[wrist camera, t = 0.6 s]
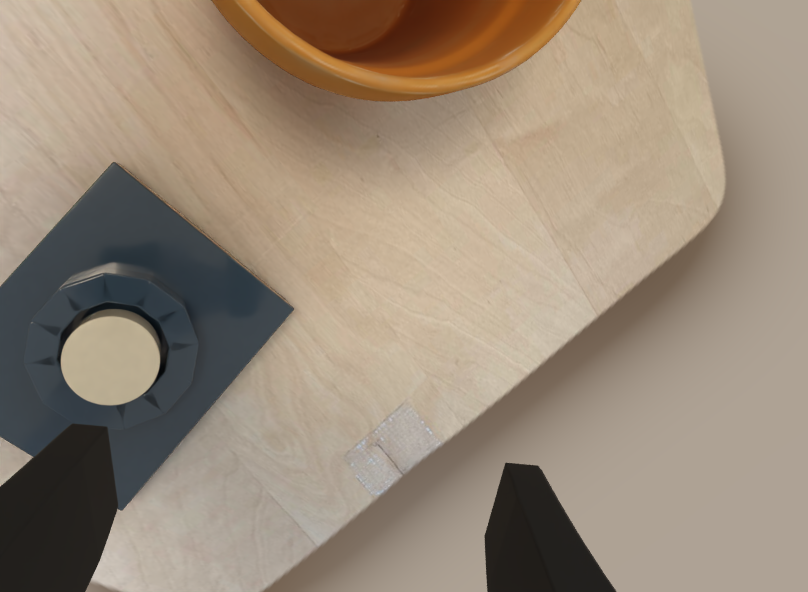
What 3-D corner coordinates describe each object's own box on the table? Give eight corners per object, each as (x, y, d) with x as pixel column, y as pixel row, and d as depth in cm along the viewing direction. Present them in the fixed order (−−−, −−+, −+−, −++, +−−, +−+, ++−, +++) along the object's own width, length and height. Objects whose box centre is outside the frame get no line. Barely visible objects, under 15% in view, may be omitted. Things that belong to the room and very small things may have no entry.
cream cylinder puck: (122, 409, 29) (119, 423, 27) (47, 358, 27) (38, 370, 26) (179, 344, 29) (179, 353, 27) (107, 290, 28) (103, 297, 26)
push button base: (125, 491, 33) (118, 531, 29) (-70, 369, 29) (-106, 396, 26) (287, 301, 34) (301, 316, 30) (118, 162, 30) (109, 159, 27)
